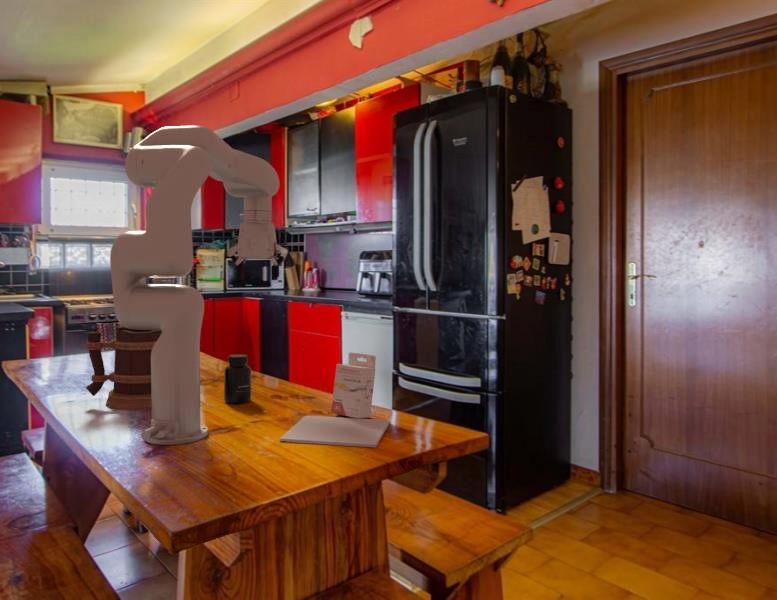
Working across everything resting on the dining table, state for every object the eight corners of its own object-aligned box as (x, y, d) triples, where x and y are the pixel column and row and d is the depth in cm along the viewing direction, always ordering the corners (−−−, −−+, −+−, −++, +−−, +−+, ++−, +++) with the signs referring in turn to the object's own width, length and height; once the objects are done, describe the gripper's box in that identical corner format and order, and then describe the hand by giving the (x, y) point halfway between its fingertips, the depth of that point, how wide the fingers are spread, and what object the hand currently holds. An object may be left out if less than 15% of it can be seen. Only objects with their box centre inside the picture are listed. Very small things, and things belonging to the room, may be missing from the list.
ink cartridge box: (329, 413, 139) (336, 351, 140) (342, 412, 143) (348, 352, 144) (359, 418, 134) (366, 354, 135) (371, 417, 138) (377, 355, 139)
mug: (82, 399, 152) (80, 323, 151) (173, 390, 165) (172, 319, 163) (91, 416, 137) (89, 331, 135) (190, 404, 149) (190, 326, 148)
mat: (375, 447, 116) (375, 444, 116) (279, 441, 120) (279, 438, 120) (389, 422, 134) (389, 420, 134) (305, 418, 137) (305, 415, 137)
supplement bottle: (244, 405, 149) (244, 358, 148) (219, 403, 150) (219, 357, 149) (255, 399, 155) (255, 354, 154) (231, 397, 157) (231, 353, 156)
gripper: (222, 217, 161) (223, 279, 162) (283, 217, 158) (283, 280, 159) (233, 219, 168) (234, 278, 169) (292, 219, 165) (292, 279, 167)
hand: (258, 279), depth 164 cm, fingers open, 9 cm apart
